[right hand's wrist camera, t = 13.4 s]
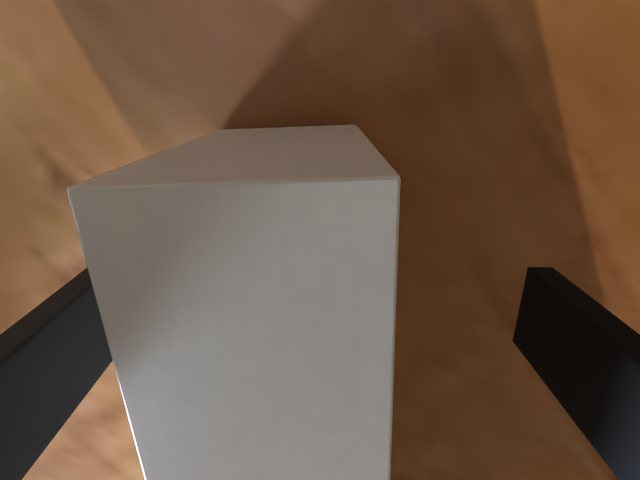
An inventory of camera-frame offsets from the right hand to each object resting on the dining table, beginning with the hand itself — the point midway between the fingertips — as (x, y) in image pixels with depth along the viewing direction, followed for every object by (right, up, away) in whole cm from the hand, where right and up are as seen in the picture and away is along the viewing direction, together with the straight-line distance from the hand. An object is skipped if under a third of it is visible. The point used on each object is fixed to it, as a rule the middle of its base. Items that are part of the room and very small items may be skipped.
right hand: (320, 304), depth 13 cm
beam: (-1, -9, +7) cm, 11 cm away
